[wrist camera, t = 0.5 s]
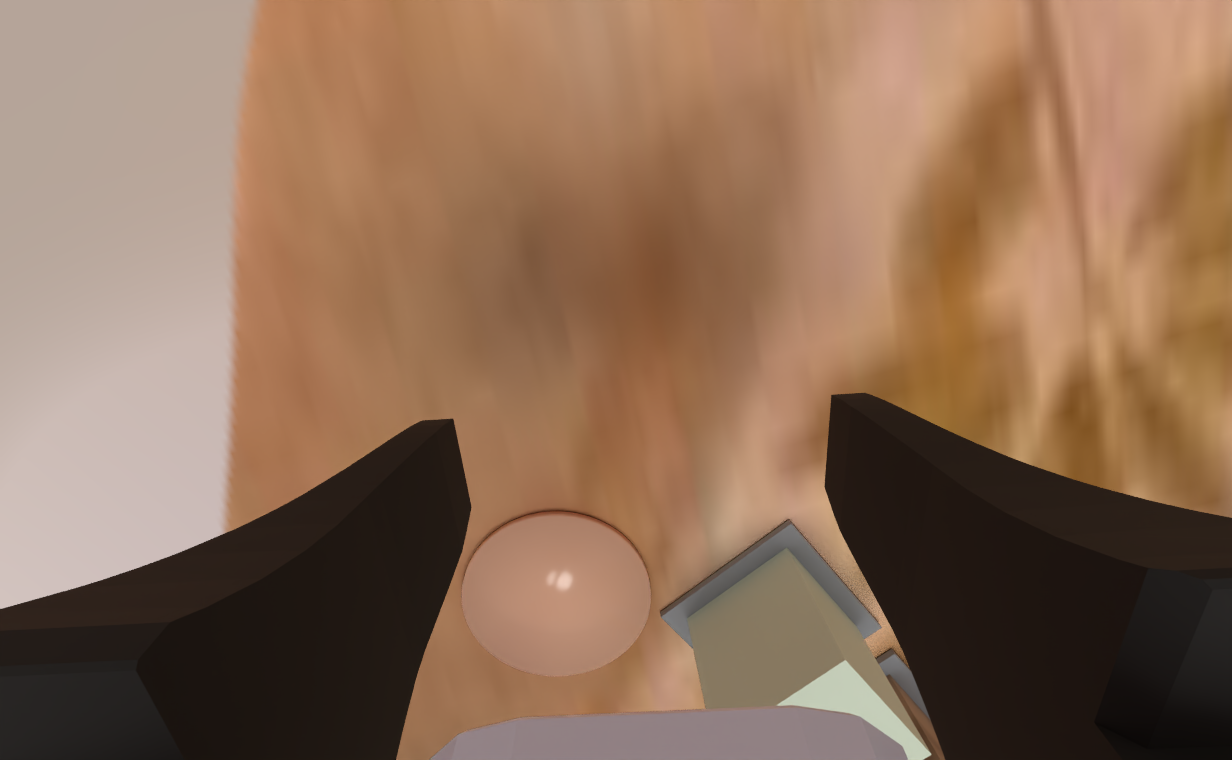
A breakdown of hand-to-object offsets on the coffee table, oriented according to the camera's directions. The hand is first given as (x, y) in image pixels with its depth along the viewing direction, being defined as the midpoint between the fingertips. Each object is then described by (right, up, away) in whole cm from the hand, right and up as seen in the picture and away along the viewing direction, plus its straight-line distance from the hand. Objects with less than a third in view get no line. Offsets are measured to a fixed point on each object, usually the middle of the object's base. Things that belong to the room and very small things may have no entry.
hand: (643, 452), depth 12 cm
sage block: (+6, -9, +14) cm, 17 cm away
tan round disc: (-3, -7, +13) cm, 15 cm away
